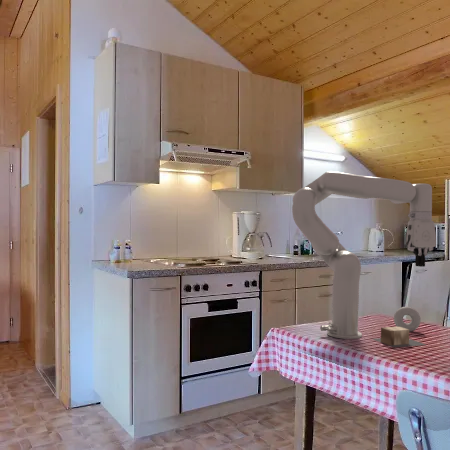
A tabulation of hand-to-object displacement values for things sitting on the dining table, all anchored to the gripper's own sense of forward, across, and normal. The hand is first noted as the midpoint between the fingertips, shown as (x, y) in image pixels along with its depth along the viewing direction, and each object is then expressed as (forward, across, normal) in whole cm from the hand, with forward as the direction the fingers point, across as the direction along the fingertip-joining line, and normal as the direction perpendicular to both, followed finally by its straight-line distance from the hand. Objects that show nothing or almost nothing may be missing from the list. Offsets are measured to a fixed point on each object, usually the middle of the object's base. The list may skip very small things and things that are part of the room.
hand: (420, 266), depth 168 cm
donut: (+27, +3, +11) cm, 30 cm away
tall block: (+24, -11, -4) cm, 27 cm away
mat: (+27, -12, -4) cm, 30 cm away
